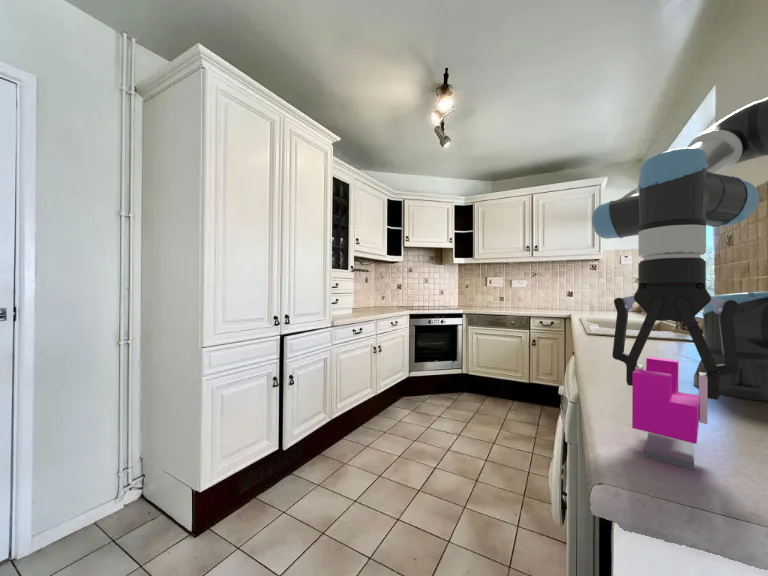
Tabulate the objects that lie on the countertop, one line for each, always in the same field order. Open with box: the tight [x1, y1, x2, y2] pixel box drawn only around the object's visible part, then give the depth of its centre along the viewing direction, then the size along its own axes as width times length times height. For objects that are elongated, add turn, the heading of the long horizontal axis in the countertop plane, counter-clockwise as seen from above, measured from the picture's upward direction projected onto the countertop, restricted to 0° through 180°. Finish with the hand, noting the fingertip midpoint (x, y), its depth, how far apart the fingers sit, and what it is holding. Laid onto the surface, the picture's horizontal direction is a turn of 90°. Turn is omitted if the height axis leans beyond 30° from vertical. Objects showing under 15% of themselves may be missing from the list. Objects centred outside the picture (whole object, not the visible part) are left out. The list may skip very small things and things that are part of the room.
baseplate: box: [644, 432, 695, 471], centre depth 48 cm, size 12×5×1 cm, turn 137°
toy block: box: [631, 356, 700, 445], centre depth 47 cm, size 15×6×8 cm, turn 135°
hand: (669, 413), depth 48 cm, fingers closed on toy block, 6 cm apart
